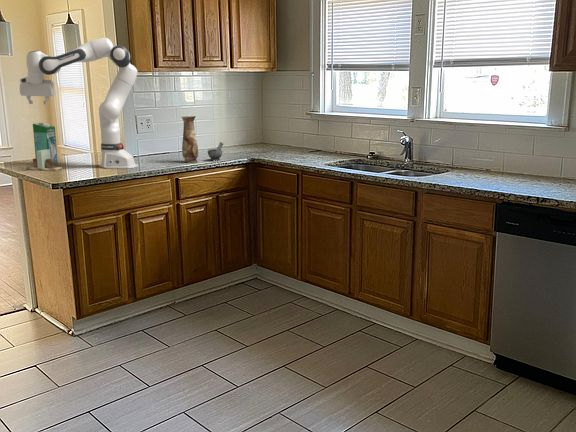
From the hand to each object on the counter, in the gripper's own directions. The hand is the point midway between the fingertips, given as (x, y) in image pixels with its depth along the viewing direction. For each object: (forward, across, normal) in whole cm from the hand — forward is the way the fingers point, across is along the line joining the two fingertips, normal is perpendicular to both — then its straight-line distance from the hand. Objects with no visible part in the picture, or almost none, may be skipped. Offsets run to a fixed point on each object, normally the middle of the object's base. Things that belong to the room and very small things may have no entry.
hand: (38, 104), depth 334 cm
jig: (+37, -5, +7) cm, 38 cm away
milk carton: (+37, +5, -12) cm, 40 cm away
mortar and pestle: (+37, -92, -53) cm, 113 cm away
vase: (+37, -78, -41) cm, 96 cm away
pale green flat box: (+36, -5, +7) cm, 37 cm away
